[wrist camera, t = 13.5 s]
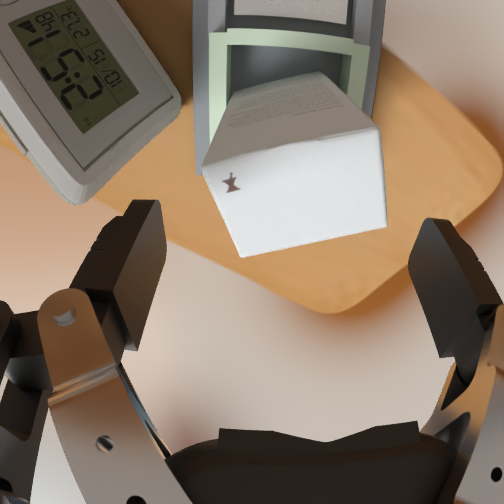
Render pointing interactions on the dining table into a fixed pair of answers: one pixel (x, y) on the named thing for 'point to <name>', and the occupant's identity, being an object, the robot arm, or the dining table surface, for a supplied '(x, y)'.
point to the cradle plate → (295, 9)
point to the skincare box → (295, 165)
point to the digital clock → (79, 90)
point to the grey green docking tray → (278, 56)
